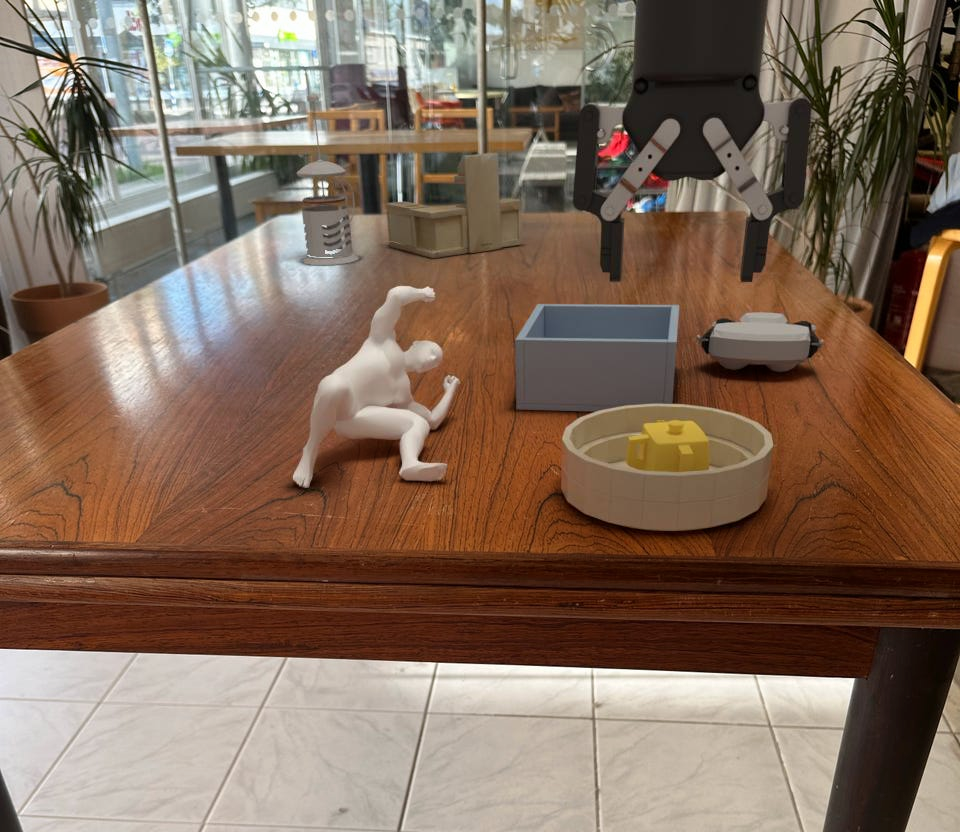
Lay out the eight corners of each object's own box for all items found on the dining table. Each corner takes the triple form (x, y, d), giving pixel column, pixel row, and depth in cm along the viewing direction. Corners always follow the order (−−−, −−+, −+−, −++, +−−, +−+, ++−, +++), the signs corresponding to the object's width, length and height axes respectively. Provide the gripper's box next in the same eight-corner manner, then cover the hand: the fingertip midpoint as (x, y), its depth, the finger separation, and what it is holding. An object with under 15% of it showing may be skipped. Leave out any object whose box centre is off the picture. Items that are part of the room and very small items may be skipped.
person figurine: (413, 354, 67) (426, 261, 81) (249, 395, 69) (288, 299, 83) (462, 503, 76) (467, 396, 89) (314, 535, 78) (341, 427, 91)
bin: (674, 369, 99) (679, 304, 96) (671, 414, 87) (676, 341, 84) (537, 366, 102) (537, 303, 99) (516, 409, 90) (515, 339, 86)
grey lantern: (290, 262, 161) (268, 94, 148) (334, 251, 170) (317, 91, 156) (333, 266, 157) (314, 93, 144) (377, 255, 165) (363, 90, 152)
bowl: (759, 460, 77) (766, 406, 74) (771, 541, 64) (780, 479, 62) (573, 453, 80) (574, 401, 77) (550, 529, 67) (550, 470, 64)
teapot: (614, 470, 75) (617, 406, 72) (686, 466, 75) (691, 402, 72) (636, 511, 68) (640, 442, 65) (714, 506, 68) (721, 437, 66)
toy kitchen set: (473, 235, 180) (470, 146, 172) (524, 245, 168) (523, 150, 160) (388, 247, 172) (381, 154, 164) (435, 259, 159) (429, 159, 151)
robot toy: (705, 348, 109) (692, 375, 96) (709, 307, 107) (696, 329, 94) (816, 353, 106) (818, 382, 93) (823, 311, 104) (825, 334, 91)
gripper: (824, -18, 56) (785, 269, 65) (585, -7, 59) (578, 268, 67) (840, -26, 50) (795, 293, 58) (572, -13, 52) (566, 291, 61)
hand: (679, 280), depth 63 cm, fingers open, 8 cm apart
